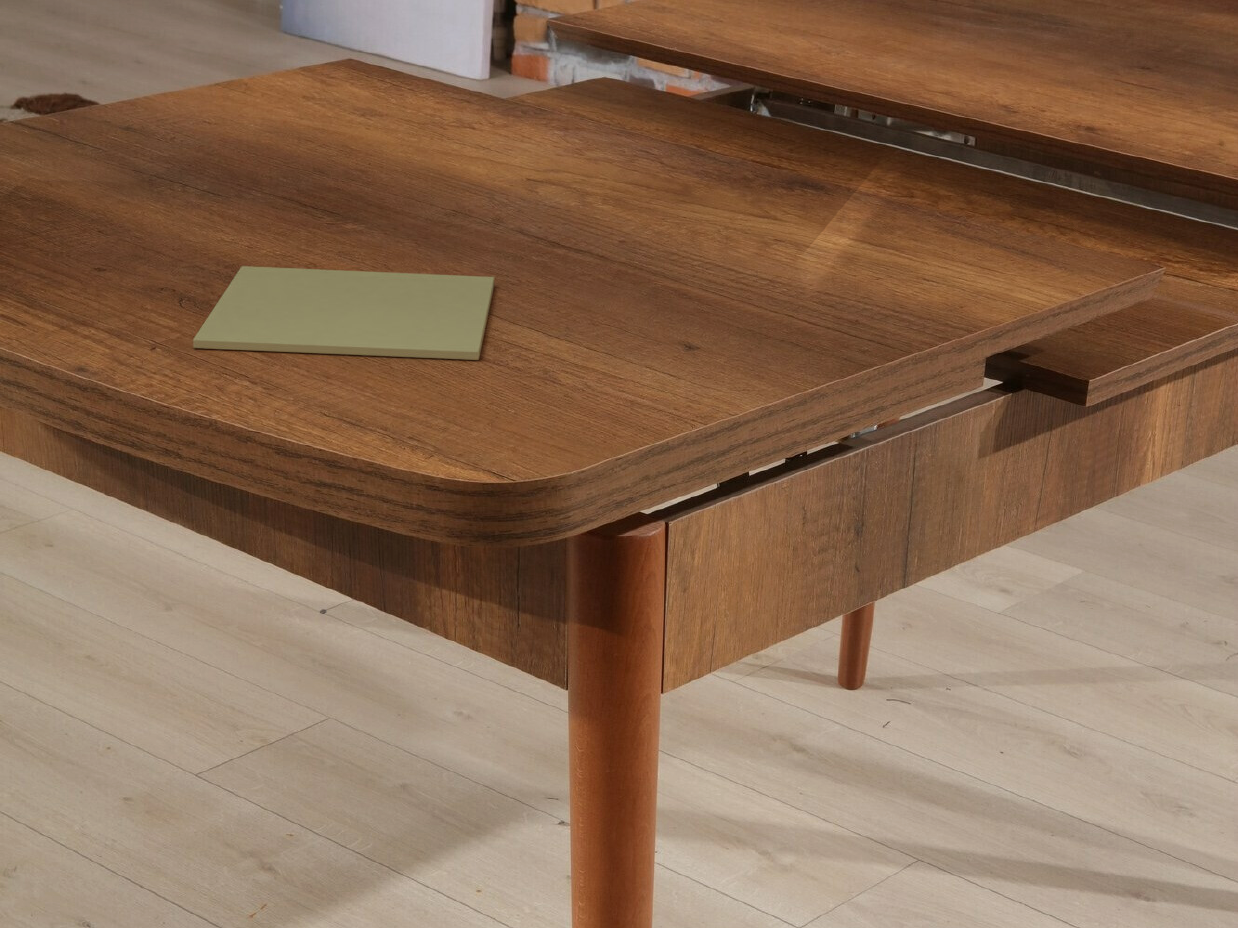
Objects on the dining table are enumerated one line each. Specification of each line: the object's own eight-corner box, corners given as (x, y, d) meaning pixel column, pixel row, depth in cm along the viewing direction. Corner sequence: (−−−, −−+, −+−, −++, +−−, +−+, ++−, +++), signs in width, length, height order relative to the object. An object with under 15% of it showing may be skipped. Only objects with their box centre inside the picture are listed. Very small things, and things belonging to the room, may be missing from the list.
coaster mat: (193, 348, 69) (192, 339, 69) (241, 273, 78) (241, 265, 78) (478, 360, 70) (478, 351, 69) (494, 284, 79) (494, 276, 79)
